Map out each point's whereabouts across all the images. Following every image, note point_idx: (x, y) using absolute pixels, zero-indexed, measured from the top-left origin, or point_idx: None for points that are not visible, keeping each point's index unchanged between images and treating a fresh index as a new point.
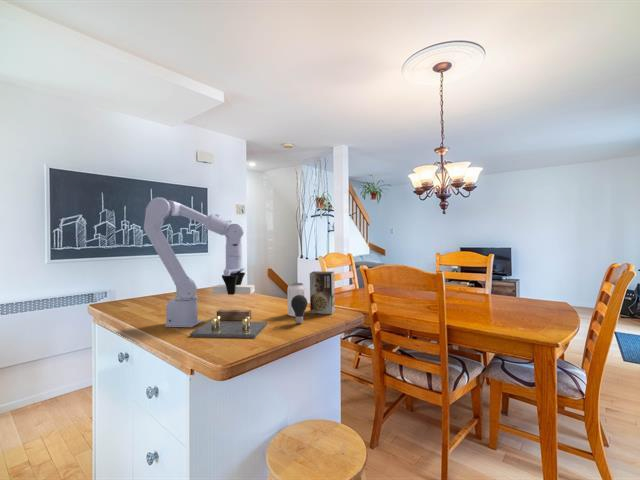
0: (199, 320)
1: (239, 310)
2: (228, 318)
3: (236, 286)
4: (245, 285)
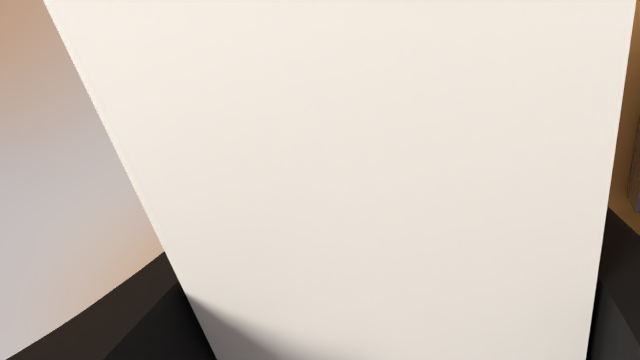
0: None
1: None
2: None
3: (485, 293)
4: (217, 107)
